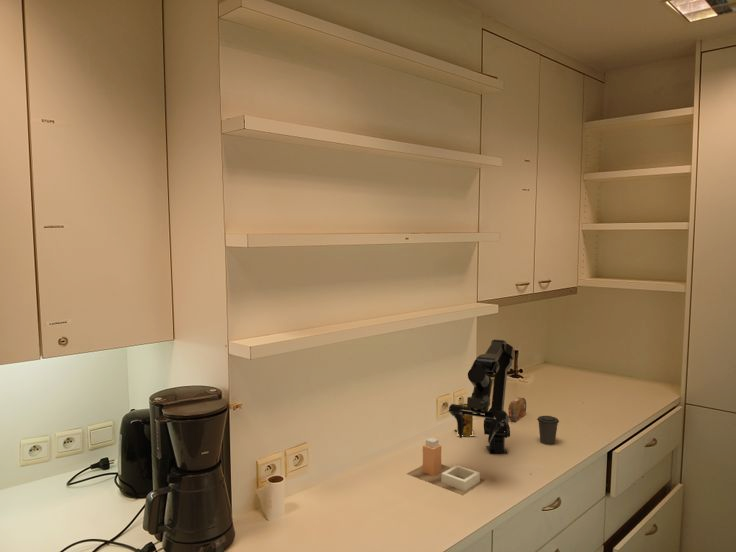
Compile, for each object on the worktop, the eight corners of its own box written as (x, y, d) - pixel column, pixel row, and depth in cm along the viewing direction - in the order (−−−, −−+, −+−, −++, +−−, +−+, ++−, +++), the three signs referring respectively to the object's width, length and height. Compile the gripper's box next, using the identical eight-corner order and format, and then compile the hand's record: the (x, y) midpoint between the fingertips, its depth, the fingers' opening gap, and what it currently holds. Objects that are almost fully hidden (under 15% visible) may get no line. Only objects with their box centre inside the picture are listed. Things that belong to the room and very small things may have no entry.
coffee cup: (560, 447, 204) (560, 421, 203) (537, 445, 205) (538, 420, 205) (557, 439, 212) (557, 414, 211) (535, 437, 213) (536, 413, 212)
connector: (422, 471, 180) (422, 440, 179) (430, 467, 183) (430, 436, 182) (433, 475, 177) (433, 443, 176) (441, 471, 180) (441, 439, 179)
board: (406, 477, 179) (406, 473, 178) (431, 464, 189) (431, 460, 189) (462, 499, 164) (462, 495, 164) (486, 483, 174) (486, 479, 174)
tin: (513, 423, 229) (514, 404, 229) (506, 422, 231) (507, 403, 231) (526, 414, 241) (527, 396, 241) (520, 412, 243) (520, 394, 243)
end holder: (441, 482, 172) (441, 473, 172) (456, 473, 179) (456, 464, 178) (464, 491, 166) (465, 481, 166) (479, 481, 173) (479, 472, 172)
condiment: (457, 437, 214) (457, 407, 213) (454, 429, 222) (454, 401, 222) (475, 437, 214) (476, 407, 213) (471, 429, 222) (472, 401, 222)
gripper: (448, 382, 176) (439, 429, 169) (505, 389, 168) (499, 439, 161) (456, 392, 185) (449, 437, 178) (511, 399, 177) (505, 447, 170)
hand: (474, 440), depth 172 cm, fingers open, 9 cm apart
